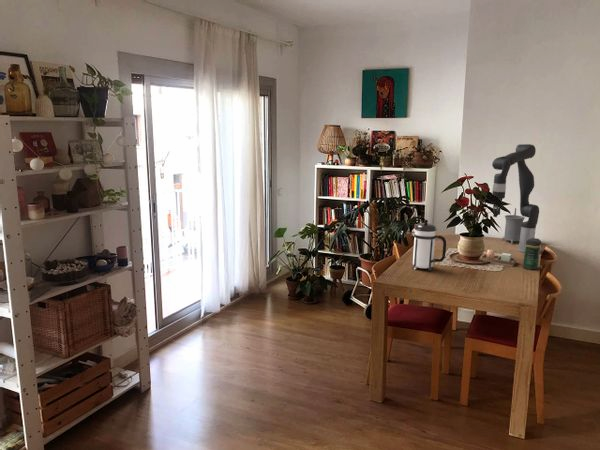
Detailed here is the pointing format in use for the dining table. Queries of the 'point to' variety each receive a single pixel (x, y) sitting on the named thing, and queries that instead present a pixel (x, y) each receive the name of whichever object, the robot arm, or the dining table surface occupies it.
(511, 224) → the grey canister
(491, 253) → the peach oval shape
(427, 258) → the coffee press
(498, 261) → the walnut tray
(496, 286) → the dining table surface
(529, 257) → the coffee jar
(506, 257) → the sage block
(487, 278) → the dining table surface
